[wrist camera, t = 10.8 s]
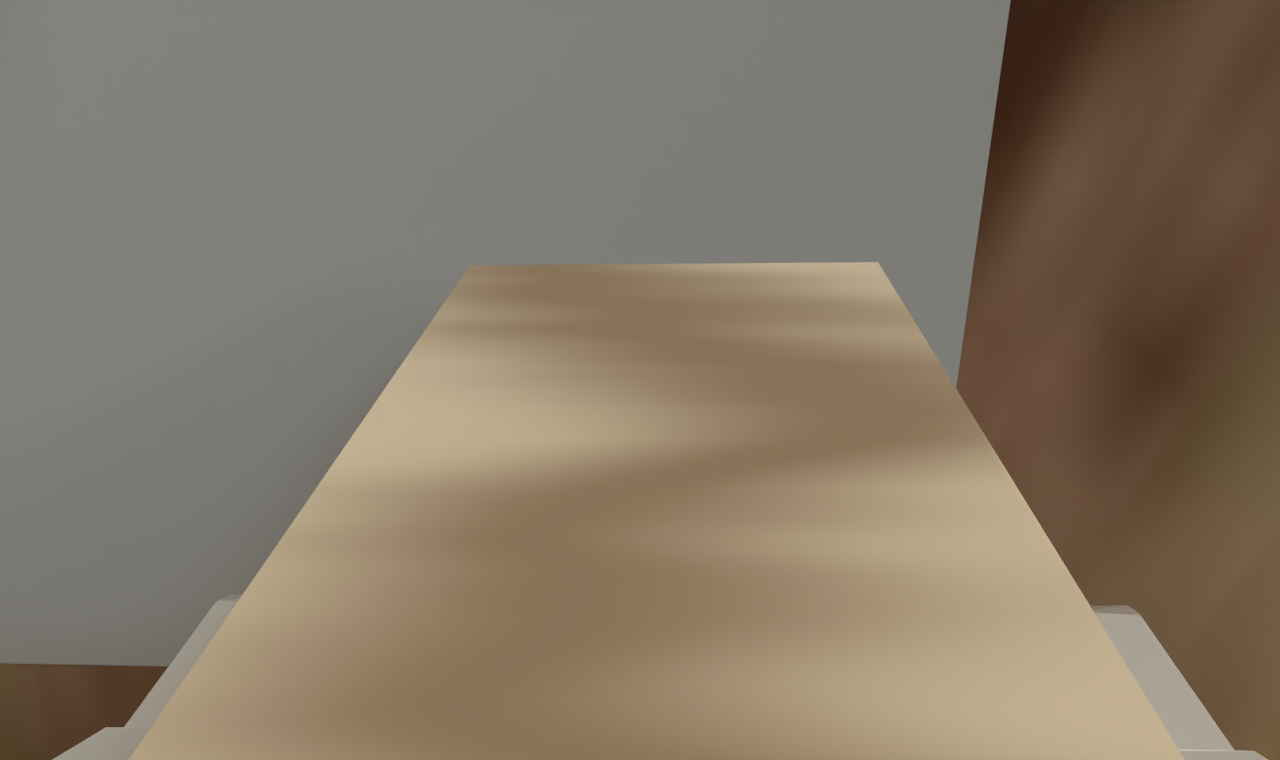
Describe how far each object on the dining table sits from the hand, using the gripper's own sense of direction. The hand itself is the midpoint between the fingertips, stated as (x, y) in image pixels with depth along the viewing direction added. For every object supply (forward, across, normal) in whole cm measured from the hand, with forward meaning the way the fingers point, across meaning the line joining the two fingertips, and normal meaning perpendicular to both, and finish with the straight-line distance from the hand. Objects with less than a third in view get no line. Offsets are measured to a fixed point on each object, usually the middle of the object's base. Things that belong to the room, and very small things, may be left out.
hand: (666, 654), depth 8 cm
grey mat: (+10, +6, 0) cm, 11 cm away
